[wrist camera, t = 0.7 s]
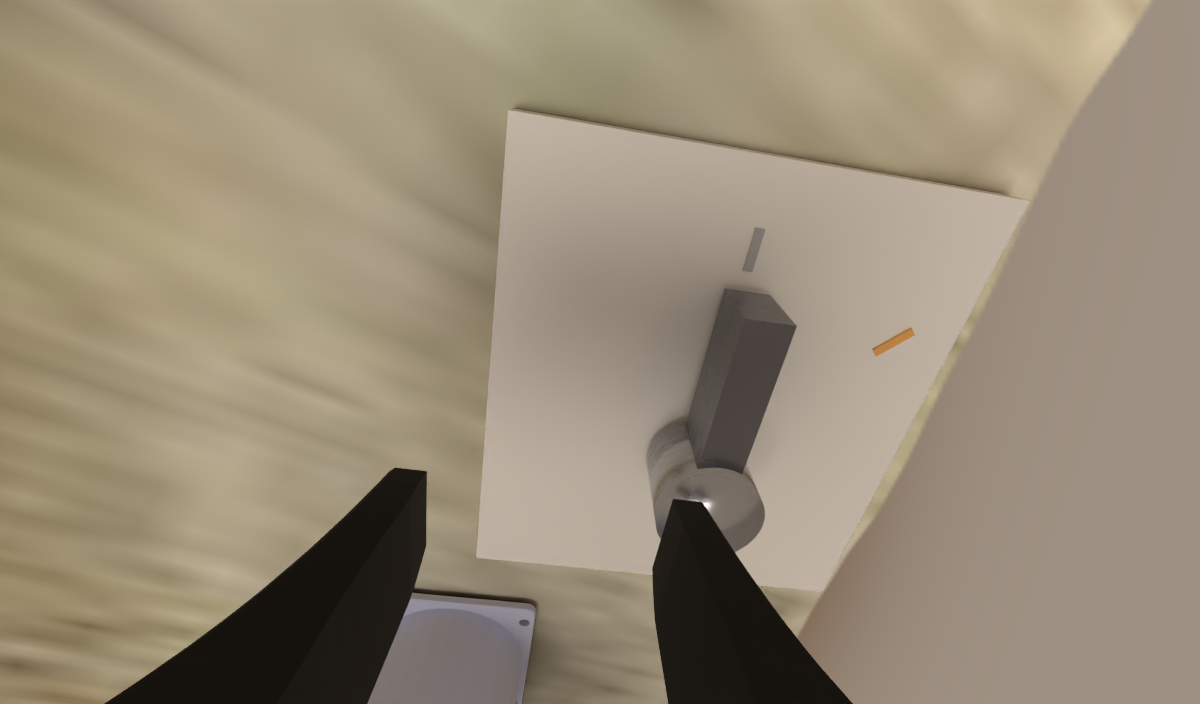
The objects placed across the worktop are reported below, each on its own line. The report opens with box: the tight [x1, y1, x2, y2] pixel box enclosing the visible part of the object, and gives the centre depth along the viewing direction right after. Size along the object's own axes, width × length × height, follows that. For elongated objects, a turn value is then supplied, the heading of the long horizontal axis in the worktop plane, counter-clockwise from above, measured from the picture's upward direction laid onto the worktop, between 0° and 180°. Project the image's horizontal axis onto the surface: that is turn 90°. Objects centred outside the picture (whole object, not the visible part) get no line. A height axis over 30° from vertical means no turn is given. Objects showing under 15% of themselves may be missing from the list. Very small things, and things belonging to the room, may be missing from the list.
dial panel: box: [476, 108, 1030, 592], centre depth 20 cm, size 18×16×1 cm
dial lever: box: [646, 288, 797, 552], centre depth 17 cm, size 9×4×3 cm, turn 171°
